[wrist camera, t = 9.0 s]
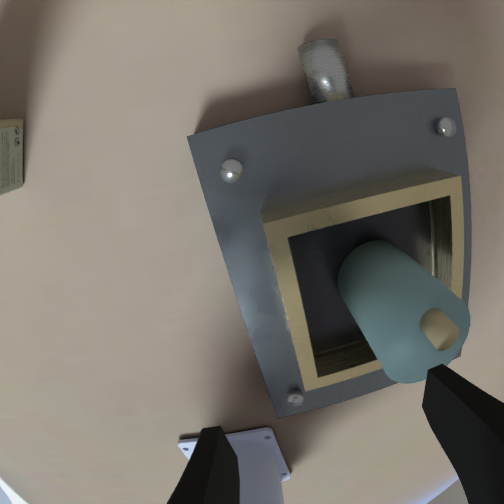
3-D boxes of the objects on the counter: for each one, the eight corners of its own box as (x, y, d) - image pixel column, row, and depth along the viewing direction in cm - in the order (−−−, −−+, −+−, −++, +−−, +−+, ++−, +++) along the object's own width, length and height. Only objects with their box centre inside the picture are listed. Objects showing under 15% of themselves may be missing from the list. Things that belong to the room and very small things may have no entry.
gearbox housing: (447, 341, 21) (473, 372, 17) (274, 397, 21) (281, 440, 18) (423, 43, 13) (462, 28, 10) (177, 82, 14) (159, 66, 10)
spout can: (407, 297, 16) (477, 378, 10) (342, 318, 17) (392, 417, 10) (403, 231, 15) (493, 296, 8) (332, 251, 15) (394, 338, 8)
